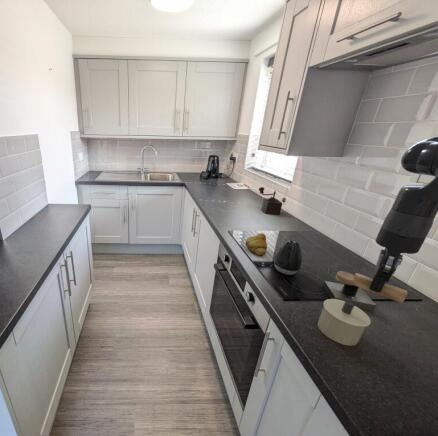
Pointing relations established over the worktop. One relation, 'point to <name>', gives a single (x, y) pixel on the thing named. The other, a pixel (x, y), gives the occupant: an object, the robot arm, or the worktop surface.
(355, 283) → the spoon
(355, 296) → the grey flat piece
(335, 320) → the pot
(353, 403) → the worktop surface
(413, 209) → the robot arm
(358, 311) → the pot lid
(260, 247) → the bread roll
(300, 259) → the dark grey egg shape
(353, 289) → the knob
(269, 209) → the manual coffee grinder
